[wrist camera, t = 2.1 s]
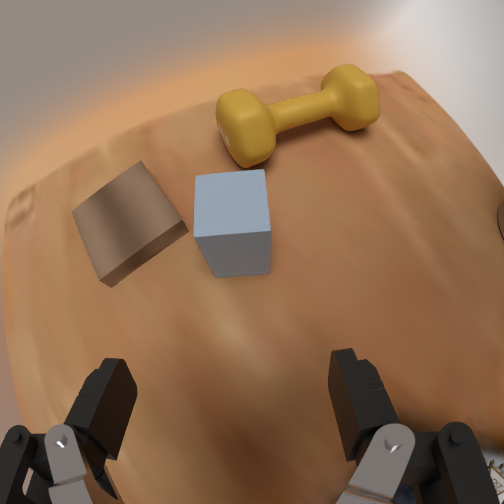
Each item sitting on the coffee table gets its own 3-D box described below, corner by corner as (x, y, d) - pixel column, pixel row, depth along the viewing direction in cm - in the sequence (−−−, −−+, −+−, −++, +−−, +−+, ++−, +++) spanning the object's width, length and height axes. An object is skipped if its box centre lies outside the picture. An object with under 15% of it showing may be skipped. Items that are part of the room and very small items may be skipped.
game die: (430, 482, 20) (430, 494, 14) (491, 444, 18) (510, 441, 12) (448, 533, 13) (451, 559, 7) (510, 494, 11) (533, 506, 5)
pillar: (265, 225, 29) (264, 169, 20) (269, 273, 27) (270, 230, 19) (215, 229, 29) (195, 175, 21) (216, 277, 27) (193, 237, 19)
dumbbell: (338, 98, 36) (347, 53, 29) (377, 139, 33) (395, 92, 25) (214, 135, 34) (203, 85, 26) (243, 187, 31) (236, 133, 23)
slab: (149, 175, 33) (141, 160, 30) (189, 233, 29) (182, 219, 27) (84, 223, 31) (71, 211, 28) (113, 288, 27) (99, 280, 25)
